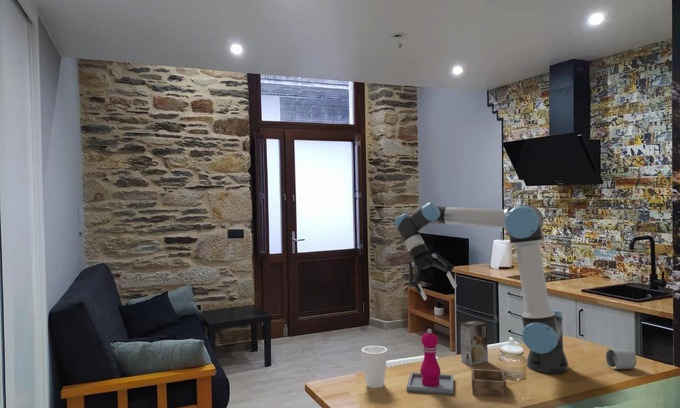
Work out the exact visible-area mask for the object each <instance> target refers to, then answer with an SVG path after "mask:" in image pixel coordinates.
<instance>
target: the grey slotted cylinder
mask: <svg viewBox="0 0 680 408" xmlns="http://www.w3.org/2000/svg"><path fill="white" fill-rule="evenodd" d="M605 359H606V364H607V365H608V367H609V368H610V367H614V366H616V368H613V369H612V370H632V369H634V368H635V367H636V365H637V357H636V355H635V353H634V352H633V351H631V350H629V349H622V348H621V349H620V348H609V349H607V351H606V353H605Z"/></svg>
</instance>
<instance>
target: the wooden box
mask: <svg viewBox="0 0 680 408" xmlns="http://www.w3.org/2000/svg"><path fill="white" fill-rule="evenodd" d="M471 390H472V392H471V393H472V396H473V395H475V396H486V397H487V396H488V397H489V396H490V397H498V398H499V397H500V398H501V397H502V398H507V380H506V376H505V372H504V370H497V369H496V370H495V369H480V368H479V369H478V368H471Z"/></svg>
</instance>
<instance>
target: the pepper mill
mask: <svg viewBox="0 0 680 408" xmlns="http://www.w3.org/2000/svg"><path fill="white" fill-rule="evenodd" d="M438 343H439V337H438V336H437V335H436V333H433V330H432V329H431V328H427V330H426V333H423V334H422V336H421V344H422V345H423V346H422V351H423V352H424V354H423V355H424V356H423V361H422V363H421V366H420V371H419V373H421V375H422V376H423V378H422V384H423V385H424V386H428V387H436V386H438V385H439V378H438V377H439V376H440V374H442V373H441V367H440V364H439V363H438V361H437V357H436V356H437V355H436V353H437V351H438V346H437V345H439V344H438Z"/></svg>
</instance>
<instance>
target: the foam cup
mask: <svg viewBox="0 0 680 408" xmlns="http://www.w3.org/2000/svg"><path fill="white" fill-rule="evenodd" d="M387 357H388V348H387V347H385V346H382V345H367V346H364V347H362V348H361V358H362V365H363V370H364V376H365V377H364V378H365V382H366V383H365V384H366V387H367V388H372V389H379V388H383V387H384V385H385V378H386V368H387V367H386V366H387Z"/></svg>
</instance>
